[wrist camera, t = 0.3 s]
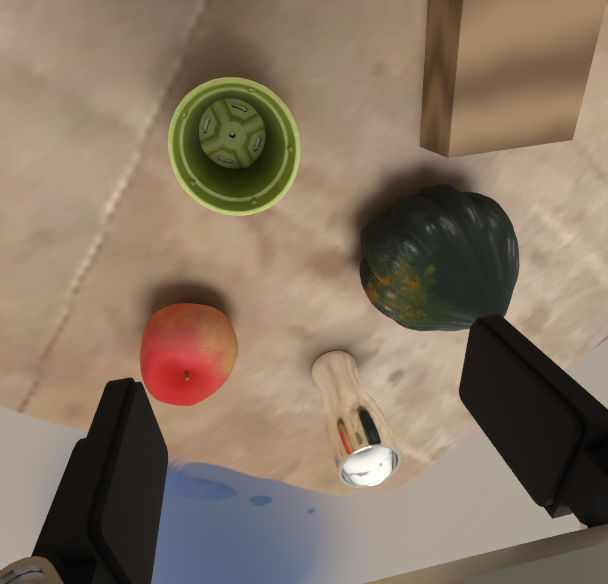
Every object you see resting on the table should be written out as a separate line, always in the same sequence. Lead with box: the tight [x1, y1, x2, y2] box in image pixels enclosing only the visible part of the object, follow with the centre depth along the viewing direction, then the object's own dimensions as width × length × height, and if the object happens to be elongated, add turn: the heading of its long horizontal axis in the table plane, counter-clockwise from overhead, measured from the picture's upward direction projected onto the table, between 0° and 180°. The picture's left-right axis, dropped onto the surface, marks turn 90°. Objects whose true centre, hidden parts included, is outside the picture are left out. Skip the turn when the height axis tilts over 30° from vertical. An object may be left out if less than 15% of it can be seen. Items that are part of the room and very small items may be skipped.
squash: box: [360, 184, 519, 331], centre depth 39 cm, size 14×15×15 cm
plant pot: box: [168, 77, 300, 216], centre depth 31 cm, size 9×9×9 cm
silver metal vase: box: [311, 351, 401, 488], centre depth 45 cm, size 7×7×15 cm
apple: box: [140, 303, 238, 406], centre depth 40 cm, size 10×10×10 cm
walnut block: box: [420, 0, 607, 158], centre depth 34 cm, size 12×12×6 cm
